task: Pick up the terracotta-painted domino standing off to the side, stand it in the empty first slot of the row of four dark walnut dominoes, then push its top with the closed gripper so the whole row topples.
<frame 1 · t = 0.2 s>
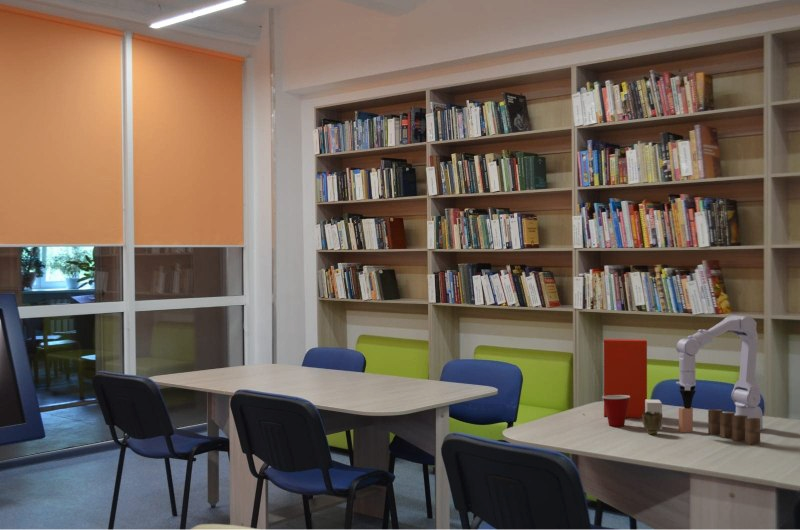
hand: (687, 406, 305), 10 cm above the table, tool pointing down, fingers open, 7 cm apart
domino 3: (727, 437, 299), on the table
domino 5: (752, 443, 288), on the table
domino 2: (715, 433, 304), on the table
plastic cup: (616, 426, 320), on the table
cup: (652, 434, 304), on the table
small box: (653, 428, 316), on the table
domino 4: (739, 440, 293), on the table
tall red box: (625, 416, 340), on the table
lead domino: (685, 431, 309), on the table
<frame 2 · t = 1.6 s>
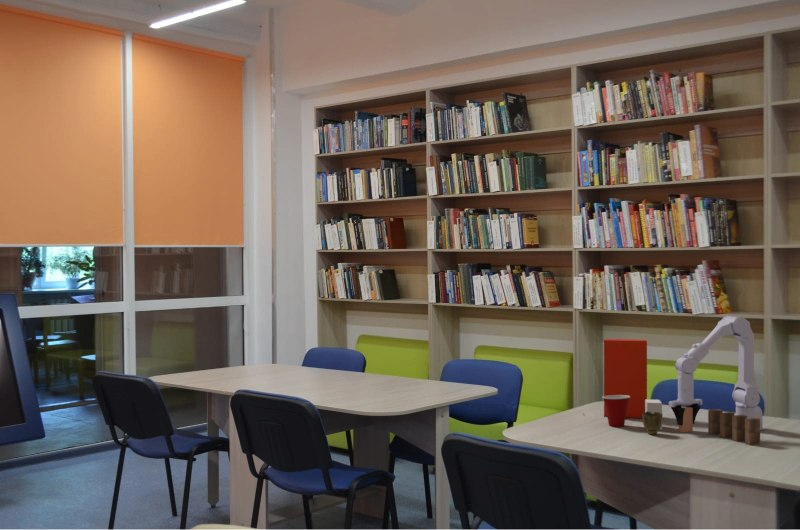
hand: (685, 424, 309), 3 cm above the table, tool pointing down, fingers closed on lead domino, 5 cm apart
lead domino: (685, 431, 309), on the table, touching gripper
everything else where it was.
when the fingers open (4 cm above the table, at t = 5.1 s): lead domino drops 1 cm, on the table.
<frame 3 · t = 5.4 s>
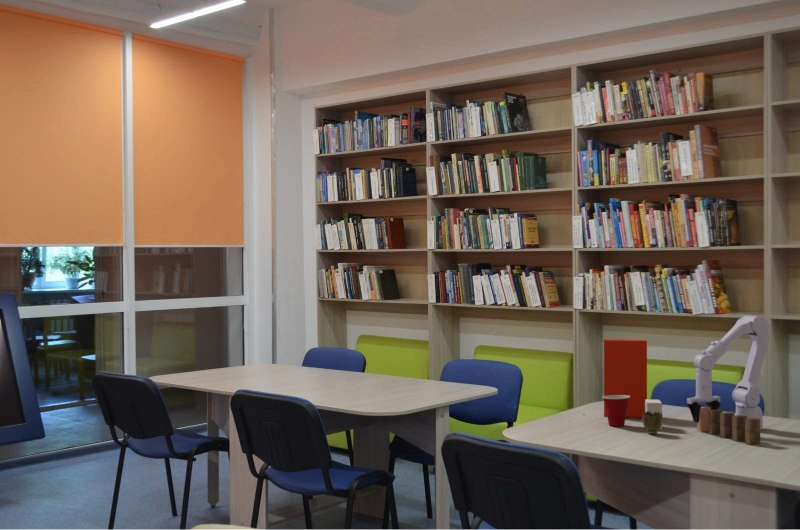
hand: (703, 421, 310), 4 cm above the table, tool pointing down, fingers open, 7 cm apart
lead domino: (703, 430, 310), on the table
everything else where it was.
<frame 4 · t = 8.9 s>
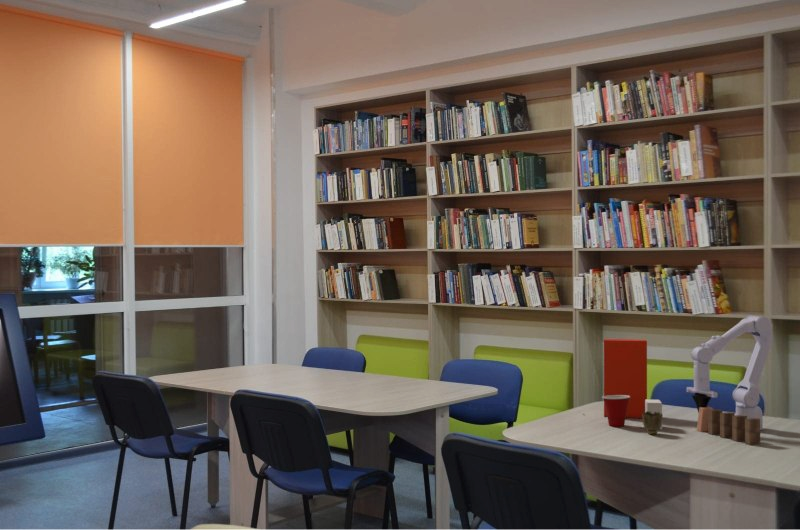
hand: (701, 413, 311), 6 cm above the table, tool pointing down, fingers closed
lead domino: (703, 430, 310), on the table, tilted 9°
everything else where it was.
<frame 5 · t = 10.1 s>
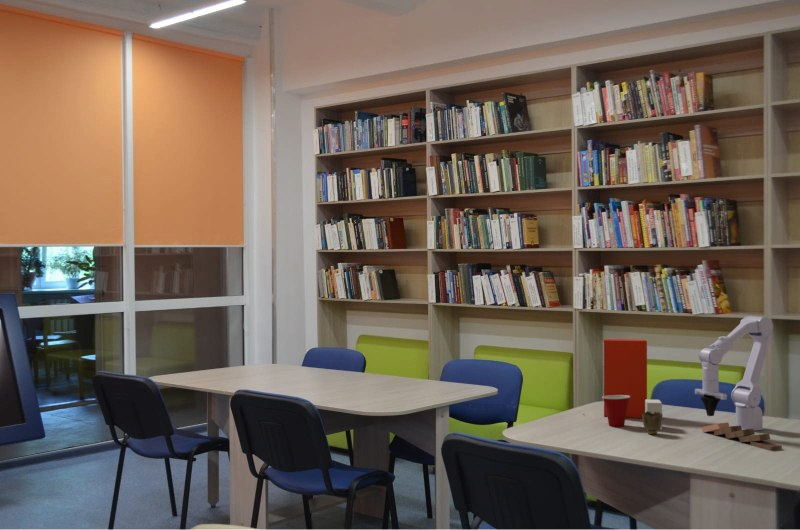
hand: (710, 415, 307), 6 cm above the table, tool pointing down, fingers closed
domino 3: (731, 435, 297), point 1 cm above the table, tilted 71°, touching domino 2
domino 5: (755, 443, 287), on the table, tilted 90°, touching domino 4
domino 2: (719, 432, 303), point 1 cm above the table, tilted 70°, touching domino 3, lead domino
domino 4: (744, 438, 291), point 1 cm above the table, tilted 75°, touching domino 5
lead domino: (707, 429, 308), point 1 cm above the table, tilted 71°, touching domino 2
everything else where it was.
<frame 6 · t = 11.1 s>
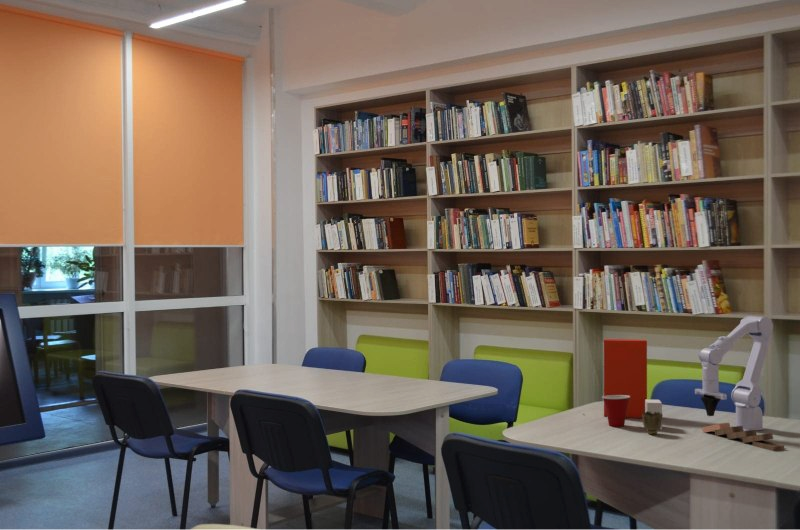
hand: (710, 415, 307), 6 cm above the table, tool pointing down, fingers closed
domino 4: (747, 439, 290), point 1 cm above the table, tilted 73°, touching domino 5
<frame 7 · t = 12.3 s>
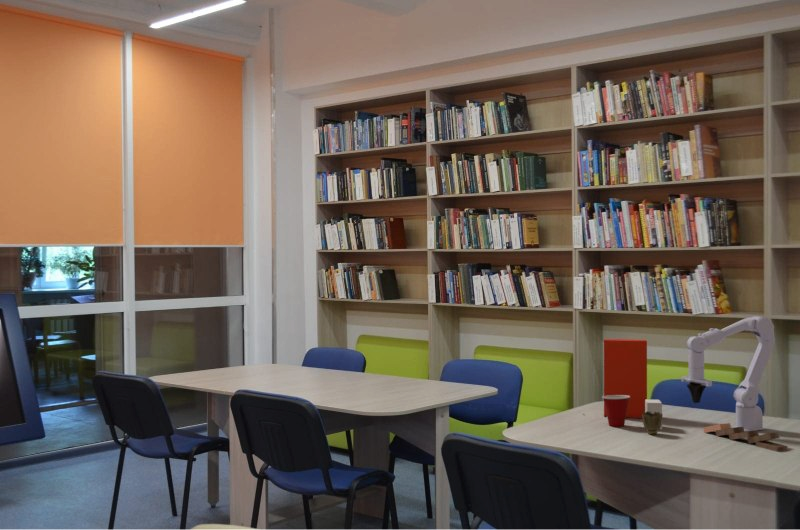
hand: (696, 402, 314), 10 cm above the table, tool pointing down, fingers closed
domino 5: (760, 444, 285), on the table, tilted 90°, touching domino 4
domino 4: (752, 440, 289), point 1 cm above the table, tilted 69°, touching domino 5
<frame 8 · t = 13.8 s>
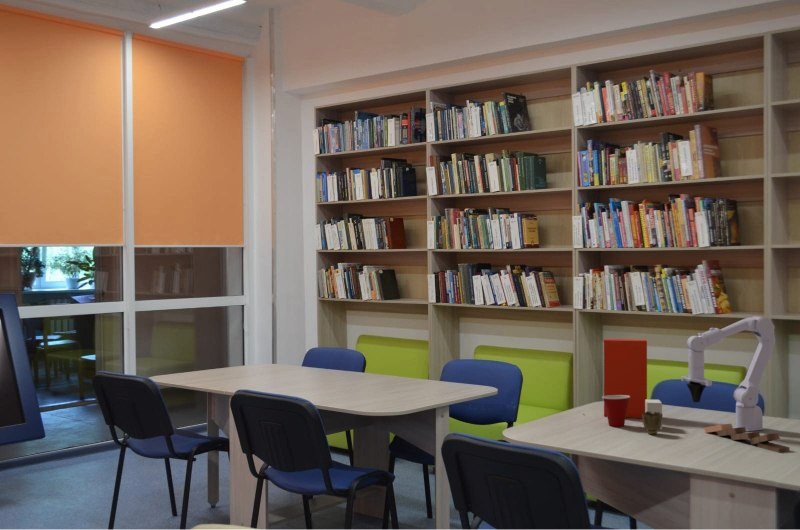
hand: (696, 402, 314), 10 cm above the table, tool pointing down, fingers closed
domino 3: (736, 436, 295), point 1 cm above the table, tilted 75°, touching domino 2, domino 4
domino 5: (763, 445, 284), on the table, tilted 90°
domino 4: (756, 440, 287), point 1 cm above the table, tilted 68°, touching domino 3
at the end: domino 5 tilted 90°; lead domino inside the target area (1.8 cm from its centre), point 0.9 cm above the table; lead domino tilted 72° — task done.
